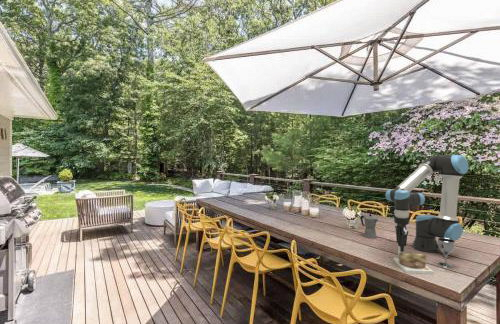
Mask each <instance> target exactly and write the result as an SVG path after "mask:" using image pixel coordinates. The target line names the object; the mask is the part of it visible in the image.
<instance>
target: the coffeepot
mask: <svg viewBox="0 0 500 324" xmlns="http://www.w3.org/2000/svg"><path fill="white" fill-rule="evenodd" d="M359 219H360V223H361V225H362V226H363V227H365V228H364V234H363V237H364V238H367V239H377V232H376V231H377V230H376V224H377V222H378V221H379V219H378V218H377V217H375V216H372V214H371V213H369V214H368V216H366V215H360V216H359Z"/></svg>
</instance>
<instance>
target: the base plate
mask: <svg viewBox="0 0 500 324" xmlns="http://www.w3.org/2000/svg"><path fill="white" fill-rule="evenodd" d="M393 262H395V264H396V265H398V266H399V268H400V269H402V270H403V271H404V272H405V273H406V274H423V275H434V270H432V268H430V267H428V266H427V264H425V267H424V268H411V267H407V266H404V265H402V264H401V263H400V262H399V257H393Z"/></svg>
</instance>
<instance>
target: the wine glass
mask: <svg viewBox="0 0 500 324" xmlns="http://www.w3.org/2000/svg"><path fill="white" fill-rule="evenodd" d="M455 242H456V241H454V240H452V239H448V238H439V237H437V244H438V246H439V251H441V252H442V254H443V256H444V262H439V263H438V265H439V266H441V267H442V268H449V269H451V268H454V265H453V264H451V263H448V261H447V260H448V256H449V255H450V254H451V253H452V252H453V251H454V249H455V246H456V243H455Z"/></svg>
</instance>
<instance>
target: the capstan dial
mask: <svg viewBox="0 0 500 324" xmlns="http://www.w3.org/2000/svg"><path fill="white" fill-rule="evenodd" d="M398 258H399V262H400V263H401V264H402V265H404V266H407V267H411V268H424V267H425V265H426V263H427V255H426V254H425V253H416V252H413V251H411V252H410V251H409V252H408V253H405V252H404V253H399V256H398Z"/></svg>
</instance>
